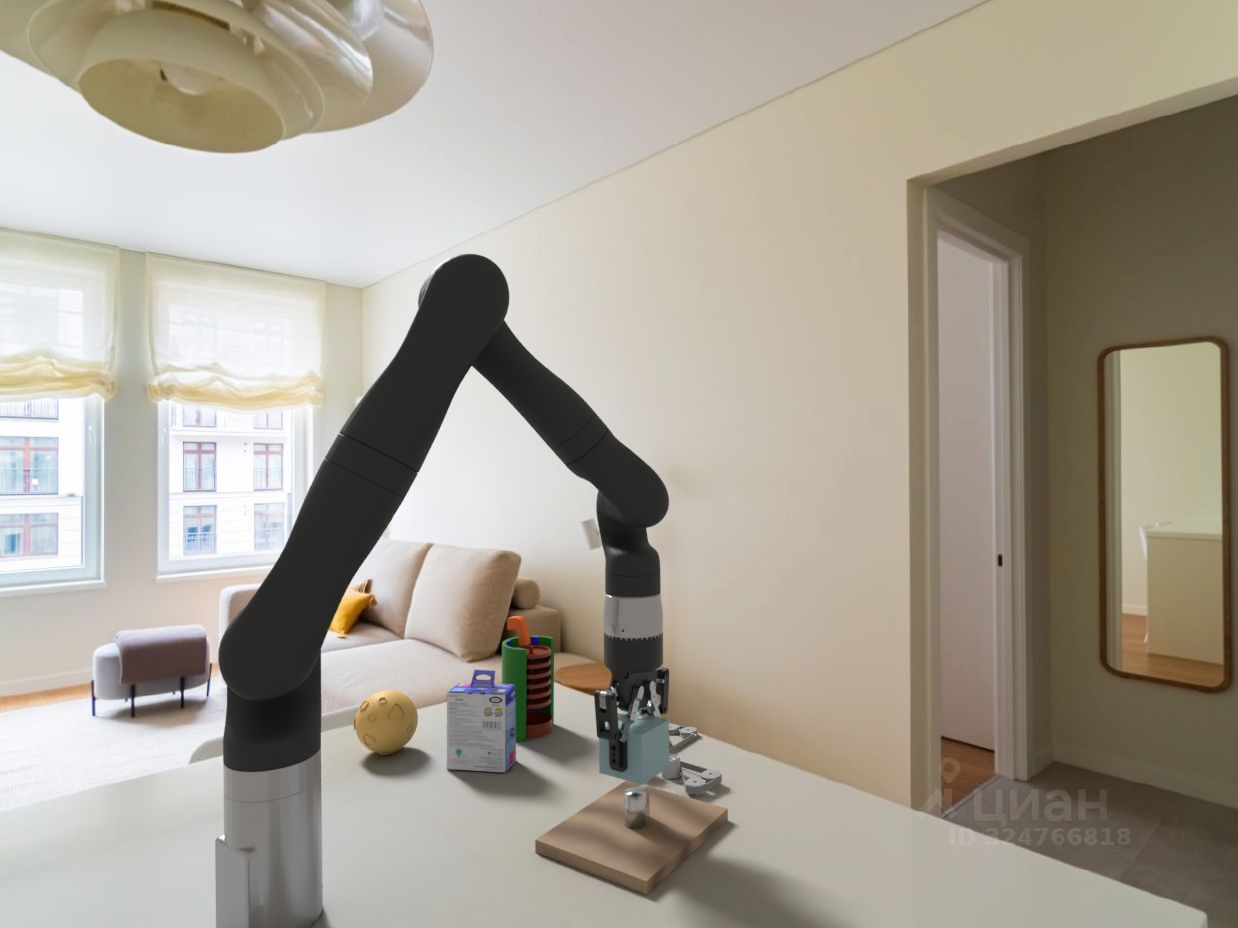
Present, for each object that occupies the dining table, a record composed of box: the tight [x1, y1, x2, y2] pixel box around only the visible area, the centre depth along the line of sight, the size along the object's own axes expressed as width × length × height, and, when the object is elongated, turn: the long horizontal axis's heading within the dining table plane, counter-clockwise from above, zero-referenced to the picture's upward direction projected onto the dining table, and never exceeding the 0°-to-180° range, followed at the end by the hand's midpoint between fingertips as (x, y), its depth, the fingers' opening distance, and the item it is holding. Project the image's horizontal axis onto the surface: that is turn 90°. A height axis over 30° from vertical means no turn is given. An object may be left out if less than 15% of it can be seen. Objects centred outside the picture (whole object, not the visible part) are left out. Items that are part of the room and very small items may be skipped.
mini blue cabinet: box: [598, 711, 670, 785], centre depth 92 cm, size 6×6×6 cm
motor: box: [501, 615, 555, 742], centre depth 129 cm, size 10×9×20 cm
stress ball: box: [353, 689, 419, 756], centre depth 120 cm, size 10×10×10 cm
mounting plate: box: [534, 780, 729, 896], centre depth 93 cm, size 20×16×2 cm
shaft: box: [624, 783, 650, 829], centre depth 93 cm, size 4×3×4 cm
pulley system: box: [660, 723, 723, 797], centre depth 116 cm, size 27×5×15 cm
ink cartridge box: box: [446, 669, 517, 773], centre depth 115 cm, size 10×6×14 cm, turn 81°
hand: (634, 759), depth 92 cm, fingers closed on mini blue cabinet, 6 cm apart
